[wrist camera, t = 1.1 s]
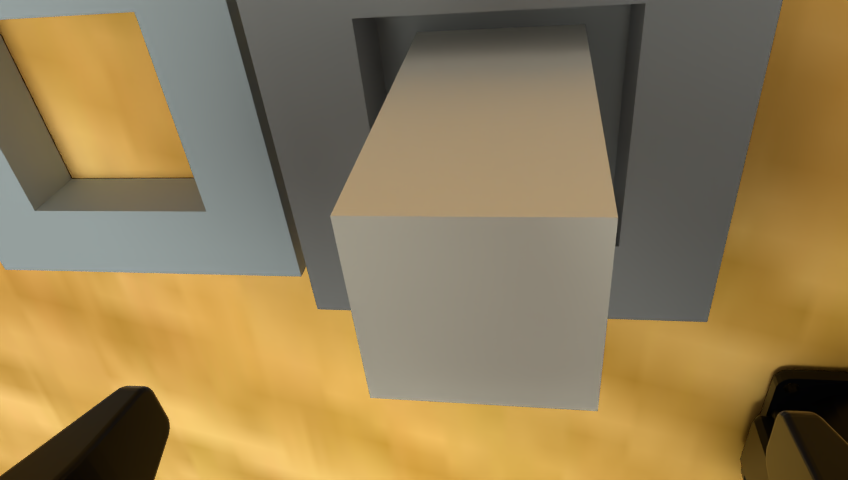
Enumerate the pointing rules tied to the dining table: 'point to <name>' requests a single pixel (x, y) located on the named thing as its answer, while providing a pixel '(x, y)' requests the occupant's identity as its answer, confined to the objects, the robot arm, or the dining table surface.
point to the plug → (483, 224)
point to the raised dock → (618, 102)
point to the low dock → (153, 197)
